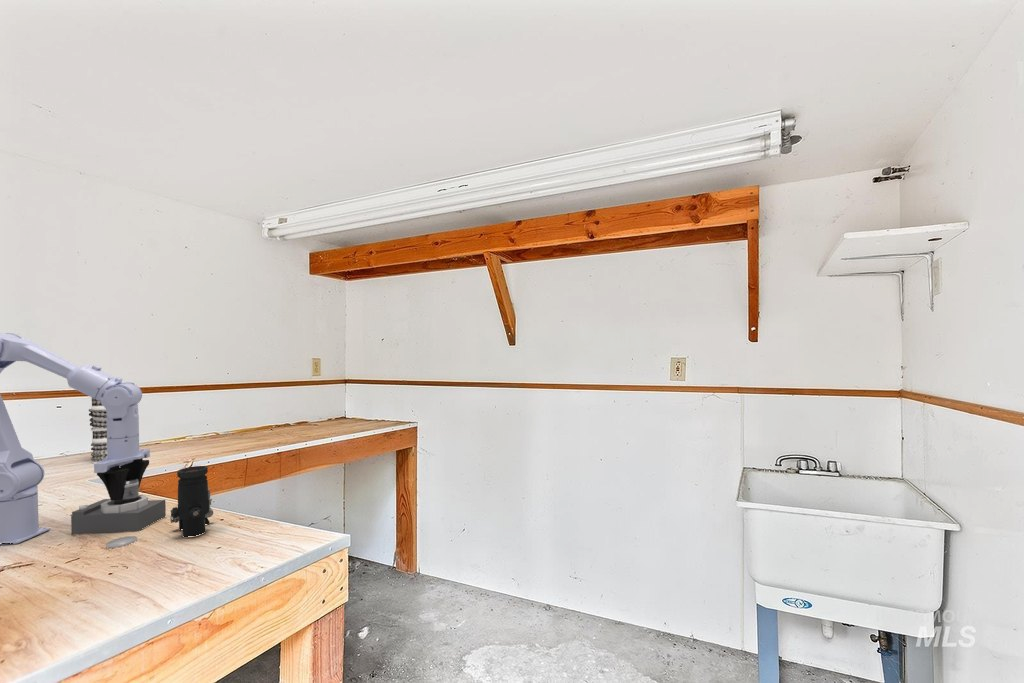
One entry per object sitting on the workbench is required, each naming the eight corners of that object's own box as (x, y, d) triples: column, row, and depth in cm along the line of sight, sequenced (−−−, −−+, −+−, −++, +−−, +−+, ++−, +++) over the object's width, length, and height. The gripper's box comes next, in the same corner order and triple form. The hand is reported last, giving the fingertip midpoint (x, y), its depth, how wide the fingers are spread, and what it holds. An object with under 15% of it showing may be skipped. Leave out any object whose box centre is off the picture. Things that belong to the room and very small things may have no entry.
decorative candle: (87, 462, 177) (85, 393, 178) (119, 457, 184) (117, 390, 185) (92, 465, 172) (90, 394, 172) (125, 460, 179) (123, 391, 179)
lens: (127, 507, 108) (127, 483, 108) (108, 508, 109) (107, 483, 109) (144, 501, 113) (143, 477, 113) (125, 501, 113) (125, 477, 113)
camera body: (71, 534, 106) (70, 508, 106) (103, 519, 115) (103, 495, 115) (139, 531, 106) (138, 505, 107) (165, 516, 115) (165, 492, 116)
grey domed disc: (99, 550, 97) (99, 546, 97) (118, 540, 102) (118, 536, 102) (125, 549, 98) (125, 545, 98) (143, 539, 103) (143, 535, 103)
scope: (211, 460, 111) (218, 468, 104) (212, 521, 111) (219, 534, 103) (167, 467, 106) (171, 476, 98) (169, 531, 106) (173, 544, 98)
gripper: (117, 442, 104) (119, 506, 104) (162, 430, 118) (163, 486, 118) (82, 443, 103) (84, 507, 103) (132, 431, 118) (133, 487, 118)
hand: (124, 496), depth 111 cm, fingers closed on lens, 4 cm apart
